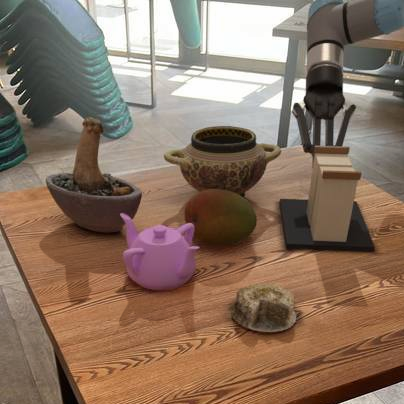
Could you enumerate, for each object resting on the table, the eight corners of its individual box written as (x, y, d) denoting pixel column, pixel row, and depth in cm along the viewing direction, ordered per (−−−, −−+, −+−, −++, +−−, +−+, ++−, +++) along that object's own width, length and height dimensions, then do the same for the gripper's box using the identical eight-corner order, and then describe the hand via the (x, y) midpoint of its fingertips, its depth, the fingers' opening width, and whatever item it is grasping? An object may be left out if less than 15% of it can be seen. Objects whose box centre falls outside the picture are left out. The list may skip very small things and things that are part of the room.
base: (355, 205, 120) (369, 136, 111) (373, 251, 104) (391, 175, 95) (279, 203, 120) (286, 133, 111) (286, 248, 105) (295, 172, 96)
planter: (145, 240, 106) (139, 130, 93) (53, 249, 103) (34, 135, 90) (134, 207, 117) (128, 104, 105) (51, 214, 114) (34, 108, 102)
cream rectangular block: (337, 213, 115) (349, 146, 106) (341, 227, 110) (354, 158, 101) (305, 211, 115) (314, 145, 106) (308, 226, 110) (318, 157, 102)
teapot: (198, 296, 92) (199, 246, 86) (113, 293, 92) (108, 243, 87) (201, 259, 101) (202, 212, 95) (123, 256, 101) (120, 209, 96)
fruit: (175, 237, 107) (174, 186, 101) (228, 221, 113) (230, 171, 107) (212, 263, 100) (213, 209, 94) (266, 244, 106) (271, 192, 99)
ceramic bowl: (270, 194, 130) (270, 123, 124) (293, 205, 114) (294, 123, 108) (162, 201, 127) (157, 129, 121) (171, 213, 111) (165, 130, 105)
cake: (222, 307, 91) (223, 276, 87) (279, 298, 93) (282, 267, 90) (245, 339, 83) (247, 306, 80) (307, 328, 85) (311, 296, 82)
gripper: (351, 86, 121) (349, 193, 119) (290, 84, 122) (287, 191, 119) (360, 64, 114) (359, 178, 111) (295, 62, 114) (291, 176, 112)
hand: (321, 185), depth 115 cm, fingers closed
